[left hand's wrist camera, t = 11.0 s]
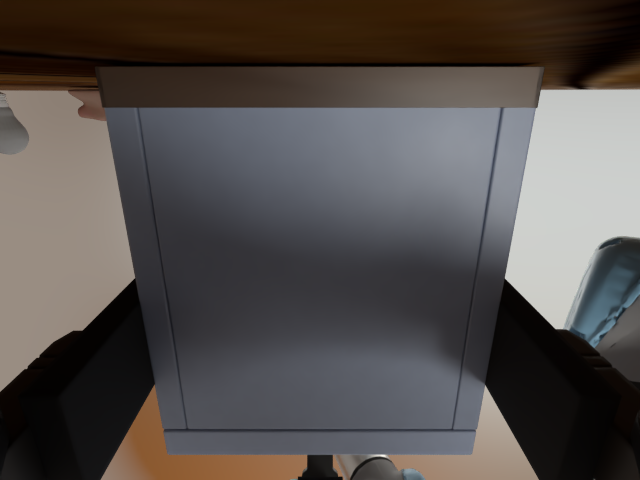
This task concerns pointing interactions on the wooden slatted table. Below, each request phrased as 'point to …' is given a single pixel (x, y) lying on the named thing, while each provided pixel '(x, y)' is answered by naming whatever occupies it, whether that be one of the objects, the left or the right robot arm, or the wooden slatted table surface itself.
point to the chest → (319, 236)
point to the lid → (319, 441)
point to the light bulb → (11, 130)
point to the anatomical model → (90, 104)
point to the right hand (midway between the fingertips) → (320, 398)
